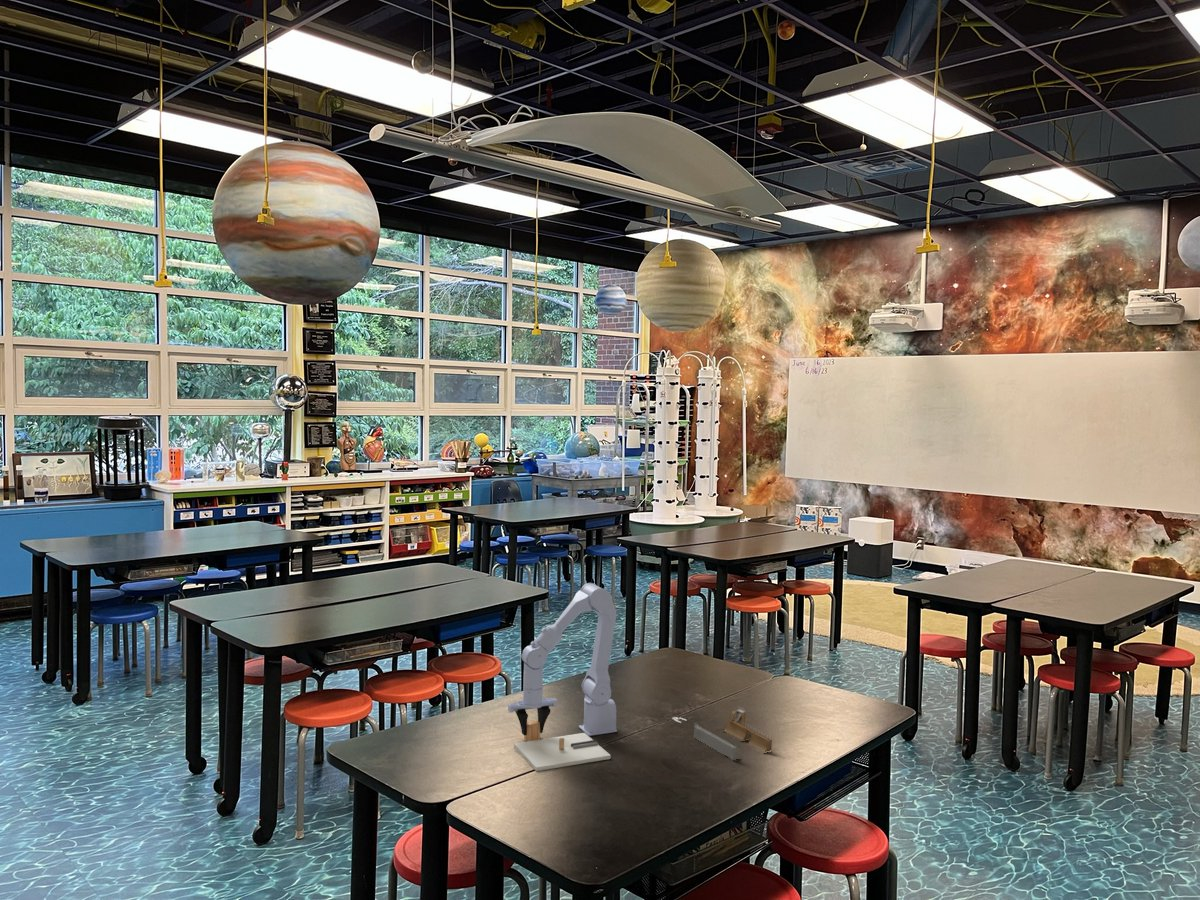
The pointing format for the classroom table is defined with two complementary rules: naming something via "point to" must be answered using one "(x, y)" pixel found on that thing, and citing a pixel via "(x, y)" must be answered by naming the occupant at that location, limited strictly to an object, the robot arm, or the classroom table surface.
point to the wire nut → (532, 731)
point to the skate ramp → (736, 730)
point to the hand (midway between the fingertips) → (532, 733)
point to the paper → (678, 719)
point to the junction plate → (561, 751)
